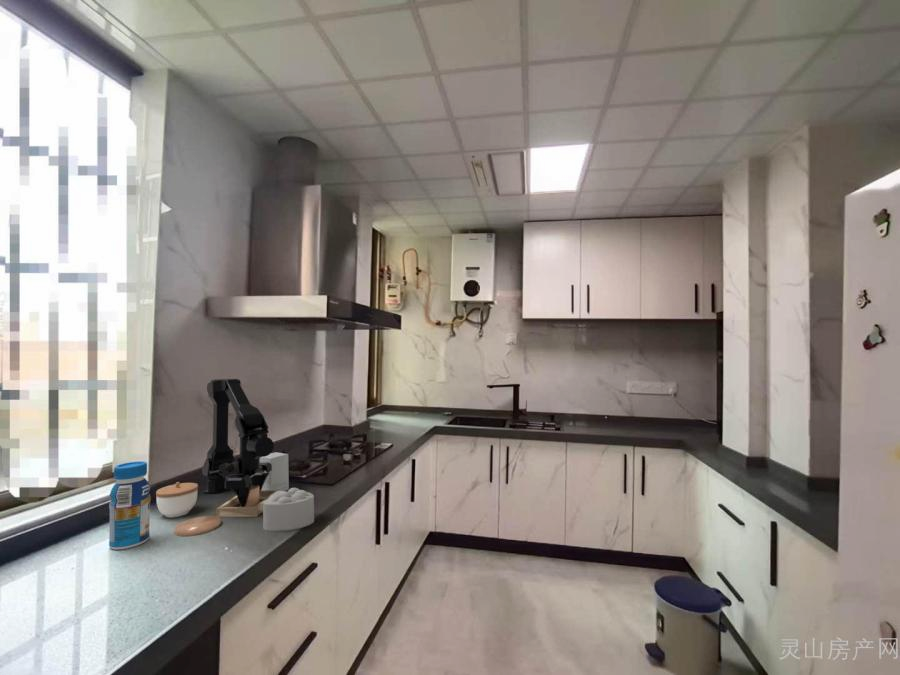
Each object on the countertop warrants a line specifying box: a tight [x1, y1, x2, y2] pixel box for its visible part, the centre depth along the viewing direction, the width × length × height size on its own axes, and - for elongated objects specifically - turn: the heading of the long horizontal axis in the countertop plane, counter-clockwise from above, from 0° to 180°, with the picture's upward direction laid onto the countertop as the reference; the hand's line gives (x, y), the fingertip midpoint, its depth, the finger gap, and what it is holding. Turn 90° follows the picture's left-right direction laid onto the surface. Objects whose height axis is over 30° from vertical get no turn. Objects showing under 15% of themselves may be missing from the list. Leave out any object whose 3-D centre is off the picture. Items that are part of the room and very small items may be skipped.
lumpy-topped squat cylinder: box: [262, 487, 315, 532], centre depth 115 cm, size 10×13×9 cm
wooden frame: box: [215, 490, 279, 518], centre depth 128 cm, size 16×12×2 cm
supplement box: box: [260, 451, 290, 492], centre depth 143 cm, size 7×7×13 cm
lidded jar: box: [155, 481, 199, 519], centre depth 124 cm, size 11×11×9 cm
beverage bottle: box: [108, 460, 152, 551], centre depth 105 cm, size 8×8×20 cm
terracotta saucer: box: [173, 515, 222, 537], centre depth 113 cm, size 11×11×1 cm
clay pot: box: [239, 485, 260, 507], centre depth 128 cm, size 6×6×6 cm
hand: (249, 502), depth 128 cm, fingers open, 8 cm apart
